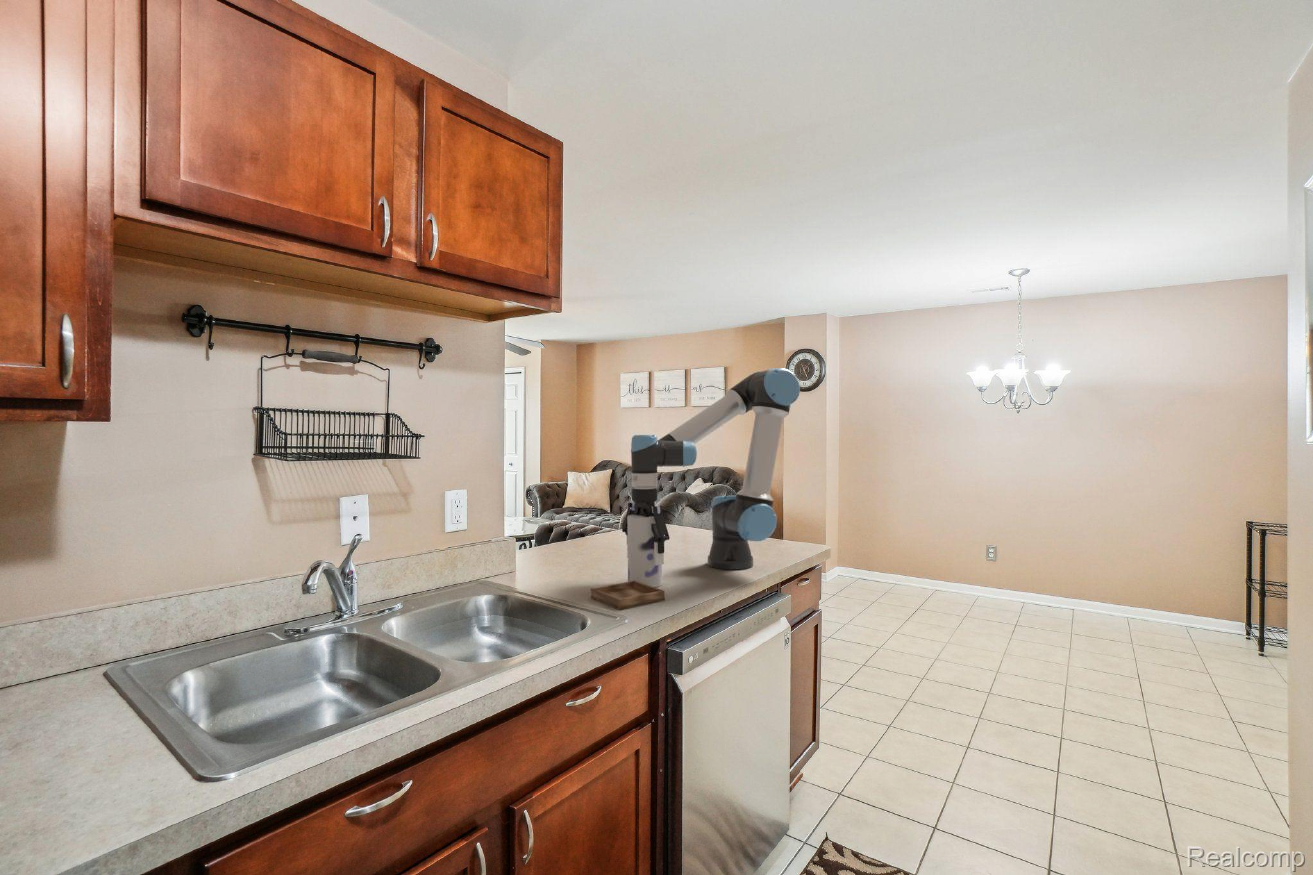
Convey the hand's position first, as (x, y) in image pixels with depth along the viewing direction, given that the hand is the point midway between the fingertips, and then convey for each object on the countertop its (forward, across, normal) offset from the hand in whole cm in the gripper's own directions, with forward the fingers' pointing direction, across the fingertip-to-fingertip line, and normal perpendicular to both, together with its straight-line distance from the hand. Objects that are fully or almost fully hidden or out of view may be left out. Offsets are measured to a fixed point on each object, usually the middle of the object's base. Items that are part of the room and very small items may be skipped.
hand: (644, 560), depth 173 cm
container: (+7, 0, 0) cm, 7 cm away
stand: (+7, +10, -13) cm, 18 cm away
